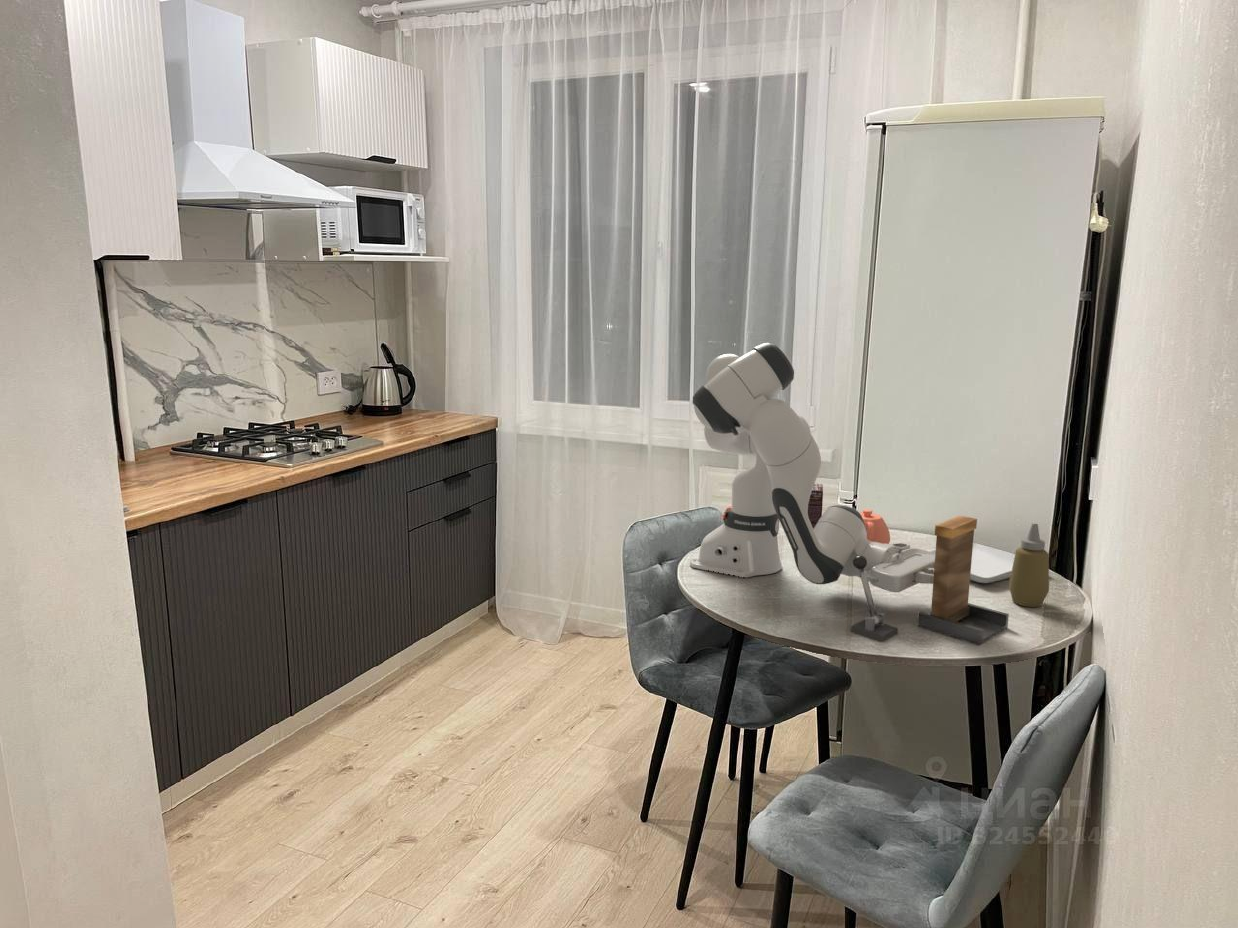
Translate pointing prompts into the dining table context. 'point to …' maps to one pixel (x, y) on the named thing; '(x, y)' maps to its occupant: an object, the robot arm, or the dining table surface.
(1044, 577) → the squeeze bottle
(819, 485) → the supplement box
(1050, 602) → the dining table surface
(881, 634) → the lever base
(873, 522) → the sugar bowl
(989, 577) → the salad plate
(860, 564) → the toggle lever
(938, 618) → the paddle track
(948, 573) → the walnut paddle
